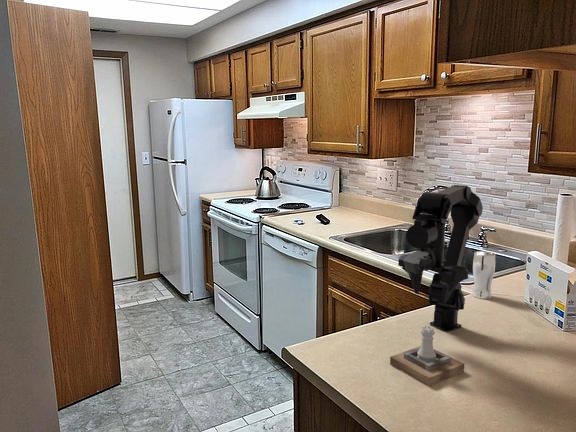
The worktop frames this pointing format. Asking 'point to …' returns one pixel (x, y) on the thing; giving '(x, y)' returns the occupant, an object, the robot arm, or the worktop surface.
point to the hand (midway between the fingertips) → (430, 298)
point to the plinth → (427, 366)
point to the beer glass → (483, 274)
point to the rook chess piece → (427, 345)
